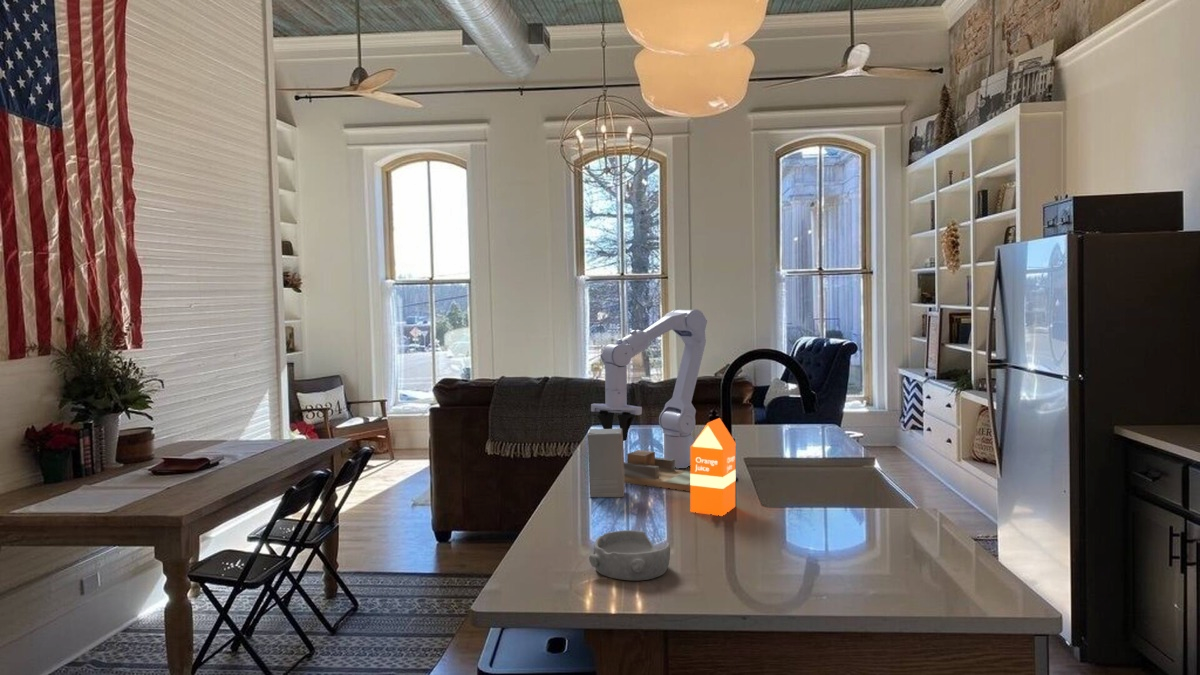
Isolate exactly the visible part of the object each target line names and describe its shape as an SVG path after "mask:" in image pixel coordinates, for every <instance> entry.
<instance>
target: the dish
mask: <svg viewBox="0 0 1200 675" xmlns="http://www.w3.org/2000/svg"><path fill="white" fill-rule="evenodd" d="M588 558H589V563H590V566H592V567H593V568H595V570H596V571H597V572H598V574H601V575H602V576H604V577H608V578H611V579H617V580H622V581H623V580H624V581H633V582H634V581H646V580H647V581H648V580H652V579H656V578H658V577H661V576H662V575H664V574H665V573H666V572H667V571H668V569H669V568H668V567H669V564H670V558H671V545H670V543H669V542H666V543H665V545H664V547H663V548H660V549H657V548H656V547H655V546H654V544H653V543H652V542H651V541H650V539H649V538H648V536H647V534H646V532H644V531H643V530H633V529H631V530H629V529H626V530H616V531H610V532H606V533H604V534H603V535H601V536H598V537H597V538H596V540H595V541H594V544H593V554H590V555H589V556H588Z"/></svg>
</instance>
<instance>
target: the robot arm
mask: <svg viewBox="0 0 1200 675" xmlns="http://www.w3.org/2000/svg"><path fill="white" fill-rule="evenodd" d="M707 323H708V320H707V318H706V316H705V315H704V313H703V312H702V310H699V309H696V308H695V309H679V308H675V309H673V310H672V311H669V312H667V313H666V314H664V316H663V317H661V318H660V319H659V320H657V321H655V322H654V323H652V324H651V325H650V326H648V327H647V328H645V329H644V330H640V329H632V330H630V331H629V334H628V335H626V336H625V337H623V338H618V339H616V342H615V343H609V344H607V345H605V346H604V349H602V353H601V354H600V360H601V361H602V363H603V364H604V373H605V374H604V375H605V376H604V377H605V378H604V379H605V382H604V387H605V388H604V393H605V395H604V396H605V397H604V398H605V399H604V400H605V403H591V404H590V412H599V413H597V418H598V420H599V421H600V424H601V427H602V429H613V422H614V416H615V414H618V415H617V418H618V423H619V428H622V429H623V442H624V441H626V440H628V434H629V430H630V428H631V424H632V422H633V420H634V419H635V416H640V415H642V414H643V407H642V406H636V405H630V404H627V403H628V400H627V398H628V396H627V395H628V392H627V390H628V389H627V388H628V387H627V385H628V381H627V378H628V377H627V376H628V375H627V374H628V372H627V371H628V370H627V368H628V367H627V366H628V365H629V364H630V363H631V361H632V358H634V357H635V356H637V355H639V354H640V353H642V352H643V351H645V350H647V349H648V348H649V346H650V342H651V341H654V340H655V339H656V338H659V337H661V336H662V335H664V334H666V333H668V332H670V331H673V332H674V333H675V334H676V335H677V336H678V337H679V338H681V340H682V342H683V344H684V349H683V353H682V356H681V360H680V361H681V362H680V365H679V368H678V373H677V376H676V381H675V385H674V389H673V393H672V397H671V398H670V399H669V400H668V401H667V402H666V403H665V404H664V408H663V409H662V411H661V412H660V414H659V417H658V423H659V426H660V428H661V429H662V433H663V437H664V438H663V439H664V440H663V442H664V443H663V444H664V445H663V447H664V448H663V450H664V451H663V453H664V454H663V458H666V459H675V467H676V468H675V469H679V468H686V467H687V466H690V465H691V446H692V445H693V443H694V442H695V438H694V437H693V435H692V433H693V431H694V430H695V427H696V413H697V410H696V408H695V407H694V404H693V403H692V401H693V396H694V393H695V389H696V385H697V381H698V376H699V372H700V368H701V364H702V360H703V356H704V352H705V346H706V341H707V340H706V338H707V337H706V328H707ZM690 467H691V466H690ZM686 469H687V468H686Z"/></svg>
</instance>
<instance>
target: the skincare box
mask: <svg viewBox="0 0 1200 675" xmlns="http://www.w3.org/2000/svg"><path fill="white" fill-rule="evenodd" d="M586 438H587V452H588V453H587V455H588V456H587V457H588V479H589V482H588V483H589V498H590V497H603V498H623V497H624V494H625V491H626V483H625V475H624V462H625V454H624V441H623V429H622V428H620V427H619V428H612V429H603V428H590V430H589V431H588V432H587V436H586Z"/></svg>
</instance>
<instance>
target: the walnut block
mask: <svg viewBox="0 0 1200 675" xmlns="http://www.w3.org/2000/svg"><path fill="white" fill-rule="evenodd" d="M655 457H656V451H650V450H640V449H637V450H634V451H631V452H629V453H627V458H626V459H627V460H626V461H627V462H626V463H634V464H643V465H651V466H655Z"/></svg>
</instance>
